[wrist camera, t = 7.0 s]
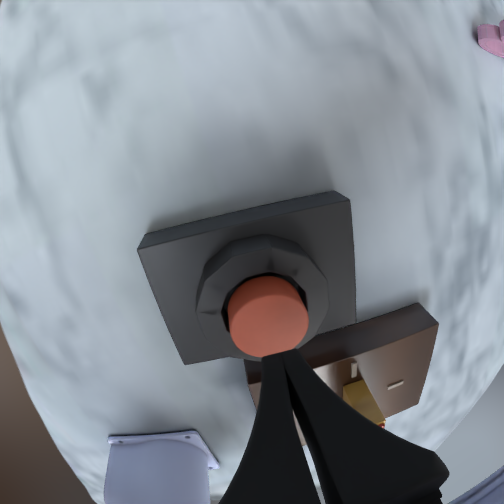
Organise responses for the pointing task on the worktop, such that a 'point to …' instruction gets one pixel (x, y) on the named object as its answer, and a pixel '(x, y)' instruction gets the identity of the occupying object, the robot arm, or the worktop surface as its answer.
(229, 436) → the worktop surface
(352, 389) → the lock knob
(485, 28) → the decorative key
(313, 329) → the doorbell
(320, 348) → the plate
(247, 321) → the bell button
